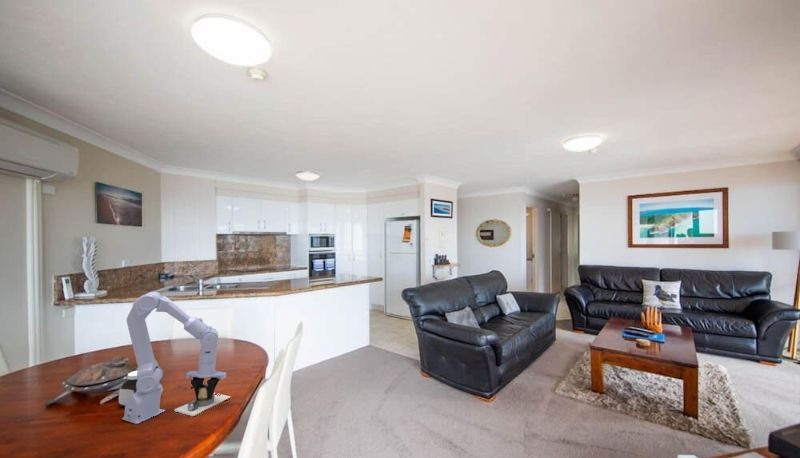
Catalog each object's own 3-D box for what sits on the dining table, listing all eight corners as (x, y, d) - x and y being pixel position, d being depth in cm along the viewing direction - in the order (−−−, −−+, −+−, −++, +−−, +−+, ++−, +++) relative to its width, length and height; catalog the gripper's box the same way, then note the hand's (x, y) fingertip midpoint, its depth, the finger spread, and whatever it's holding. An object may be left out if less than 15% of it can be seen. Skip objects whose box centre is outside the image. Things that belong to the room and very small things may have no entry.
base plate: (193, 417, 111) (193, 410, 111) (173, 412, 114) (174, 405, 115) (230, 399, 126) (231, 392, 126) (212, 394, 130) (213, 388, 130)
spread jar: (114, 409, 115) (117, 377, 116) (131, 396, 126) (134, 366, 127) (151, 406, 118) (155, 375, 119) (165, 393, 129) (168, 365, 130)
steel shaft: (193, 406, 117) (194, 400, 117) (199, 407, 117) (200, 401, 117) (185, 410, 114) (186, 404, 114) (192, 411, 113) (193, 405, 114)
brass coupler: (211, 401, 121) (213, 384, 122) (201, 405, 118) (203, 387, 118) (205, 399, 123) (207, 382, 124) (195, 403, 119) (196, 385, 120)
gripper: (231, 358, 126) (228, 393, 125) (195, 357, 126) (192, 392, 125) (221, 364, 119) (218, 401, 118) (183, 363, 119) (180, 400, 118)
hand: (204, 397), depth 121 cm, fingers closed on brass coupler, 4 cm apart
